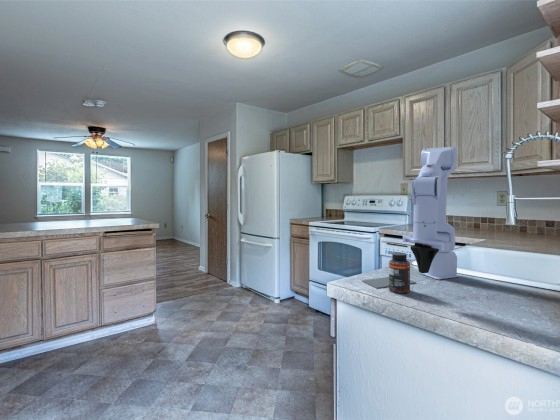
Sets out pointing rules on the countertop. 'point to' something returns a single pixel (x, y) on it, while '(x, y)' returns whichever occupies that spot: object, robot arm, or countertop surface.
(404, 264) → the supplement bottle
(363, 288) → the countertop surface
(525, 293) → the countertop surface
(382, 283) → the mat
